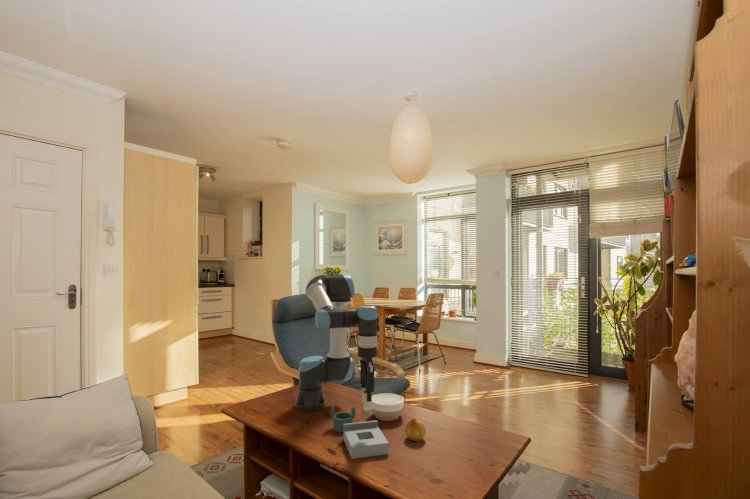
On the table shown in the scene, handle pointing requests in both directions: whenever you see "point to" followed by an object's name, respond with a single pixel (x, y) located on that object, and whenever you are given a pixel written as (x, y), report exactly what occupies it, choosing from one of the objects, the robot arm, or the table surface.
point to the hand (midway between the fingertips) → (366, 407)
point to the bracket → (342, 418)
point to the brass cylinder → (364, 412)
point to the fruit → (415, 430)
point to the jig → (364, 439)
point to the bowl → (387, 406)
